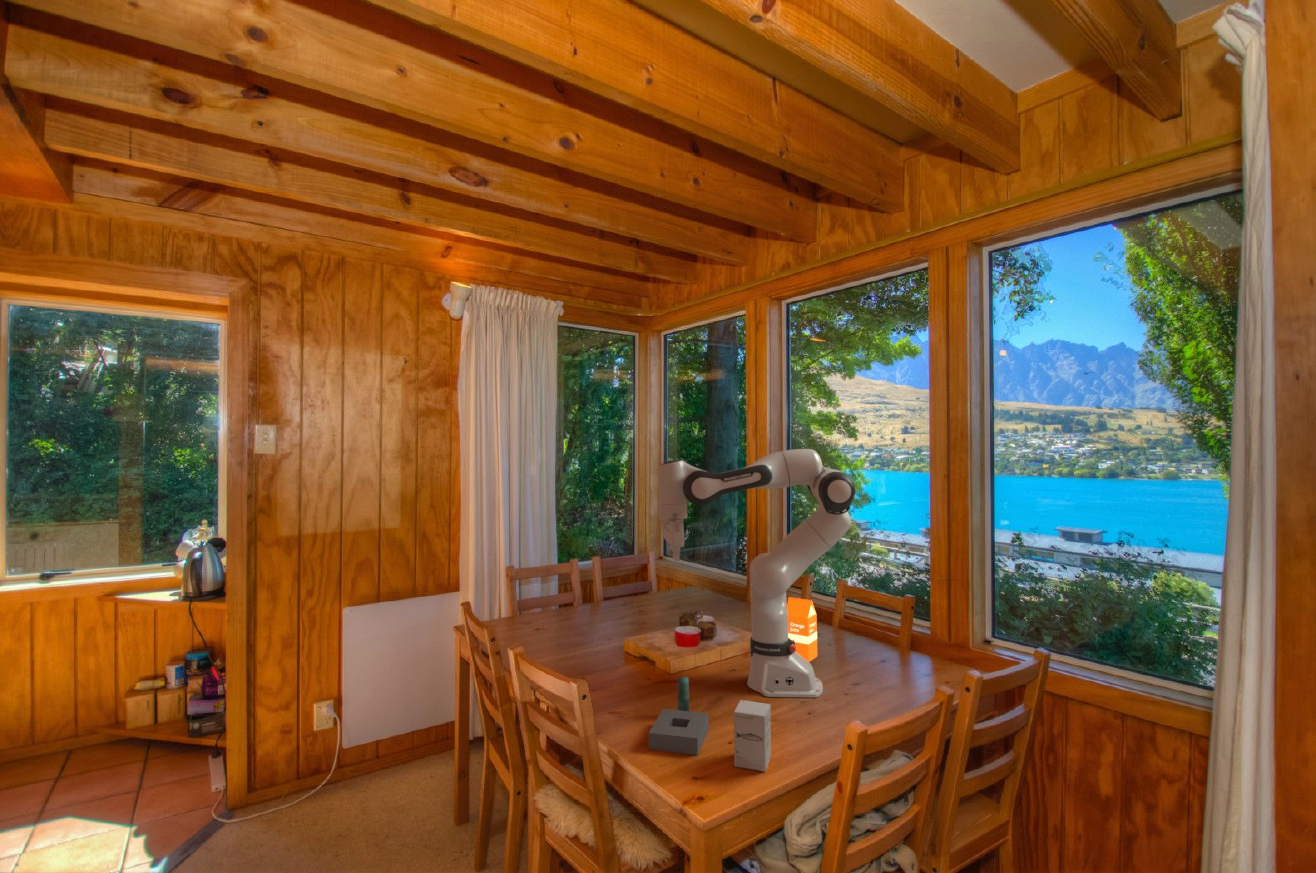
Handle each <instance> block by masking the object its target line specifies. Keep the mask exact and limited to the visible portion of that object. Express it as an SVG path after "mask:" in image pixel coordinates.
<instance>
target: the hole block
mask: <svg viewBox="0 0 1316 873" xmlns="http://www.w3.org/2000/svg"><path fill="white" fill-rule="evenodd" d="M709 719H710V718H709V713H708V712H701V711H700V712H699V711H691V710H689V711H681V710H678V709H671V708H663V709H662V710H661V712H660V714H659V715H658V717H657V719H656V720H655V721H654V723H653V724H652V727H651V728H650V730H649V731H648V750H651V751H659V752H664V753H665V752H667V753H676V754H684V755H691V756H698V755H699V753H700V751H701V748H702V746H703V743H704V741H705V738H706V737H707V734H708V732H709V729H710V728H709V726H710V725H709V722H710V721H709Z"/></svg>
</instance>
